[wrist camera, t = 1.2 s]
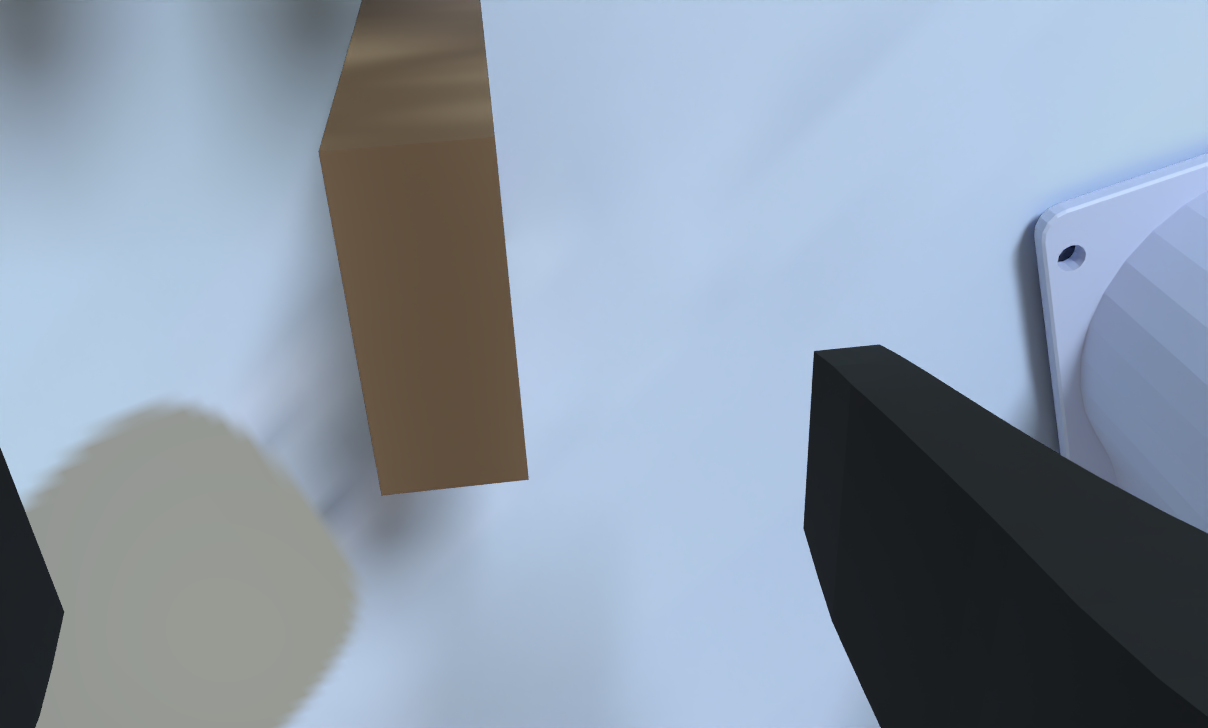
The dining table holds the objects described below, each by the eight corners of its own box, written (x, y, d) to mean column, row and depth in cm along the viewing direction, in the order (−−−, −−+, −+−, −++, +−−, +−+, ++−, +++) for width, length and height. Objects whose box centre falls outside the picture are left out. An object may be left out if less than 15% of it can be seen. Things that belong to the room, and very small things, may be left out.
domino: (478, -12, 18) (494, 136, 12) (504, 245, 20) (528, 479, 14) (362, -3, 17) (319, 152, 12) (401, 254, 20) (381, 495, 14)
